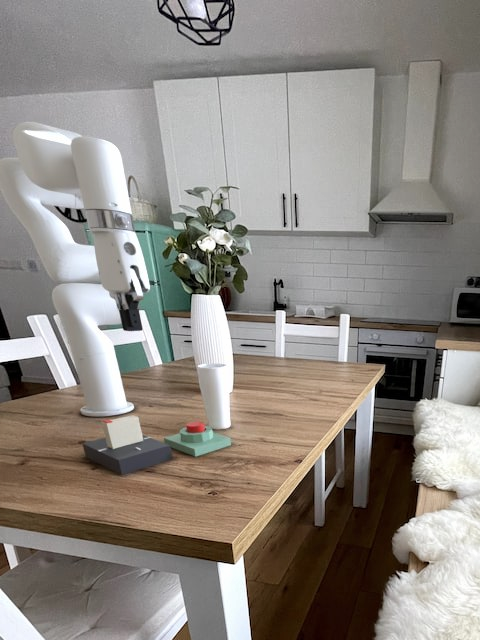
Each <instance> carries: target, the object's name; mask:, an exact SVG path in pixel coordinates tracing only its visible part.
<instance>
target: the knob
mask: <svg viewBox="0 0 480 640" xmlns="http://www.w3.org/2000/svg"><path fill="white" fill-rule="evenodd" d="M101 426H102V430H103V433H104V434H103V435H104V438H106V442H107V446H108V447H109V448H112V449H115V448H119V447H122V446H126V445H130V444H134V443H137V442H141V441H143V436H142V435H143V431H142V427H141V423H140V418H139V416H137V415H134V414H132V415H127V416H123V417H117V418H113V419H103V420H102V421H101Z"/></svg>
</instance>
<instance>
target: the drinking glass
mask: <svg viewBox="0 0 480 640" xmlns="http://www.w3.org/2000/svg"><path fill="white" fill-rule="evenodd" d="M196 371H197V372H196V373H197V380H198V385H199V390H200V395H201V399H202V403H203V407H204V411H205V417H206V421H207V426H209V427H211V428H212V430H219V431H220V430H225V429H228V428H230V427H231V423H232V422H231V410H230V407H231V406H230V379H229V371H228V366H227V364H224V363H202V364H198V365H197V366H196Z"/></svg>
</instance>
